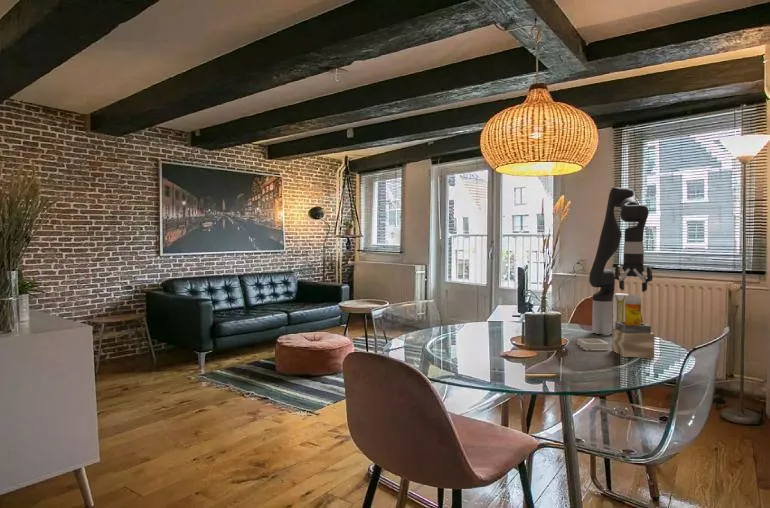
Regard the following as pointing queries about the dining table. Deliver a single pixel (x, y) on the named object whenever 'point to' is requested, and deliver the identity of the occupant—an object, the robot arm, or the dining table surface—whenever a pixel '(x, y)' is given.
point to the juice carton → (618, 308)
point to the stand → (633, 340)
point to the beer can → (632, 310)
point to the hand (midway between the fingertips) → (632, 290)
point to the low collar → (593, 343)
